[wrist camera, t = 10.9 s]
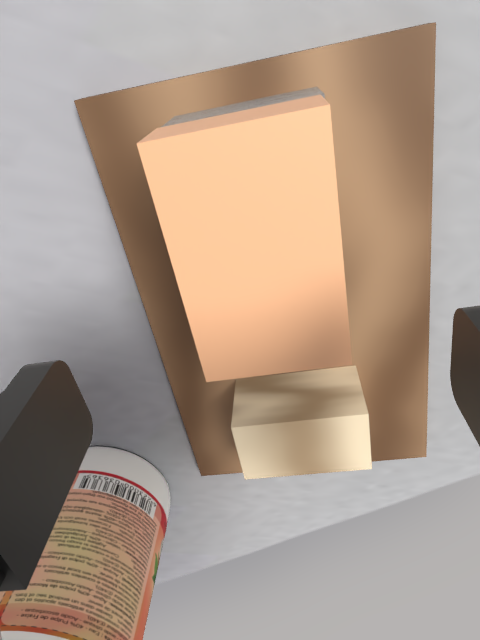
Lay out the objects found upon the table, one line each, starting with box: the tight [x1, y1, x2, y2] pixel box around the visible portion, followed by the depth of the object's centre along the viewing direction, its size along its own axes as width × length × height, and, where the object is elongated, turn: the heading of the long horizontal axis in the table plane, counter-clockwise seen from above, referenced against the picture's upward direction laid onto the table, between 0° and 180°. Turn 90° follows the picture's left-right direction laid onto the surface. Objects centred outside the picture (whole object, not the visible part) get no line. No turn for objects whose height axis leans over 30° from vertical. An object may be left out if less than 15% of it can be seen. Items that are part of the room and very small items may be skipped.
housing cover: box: [137, 94, 353, 382], centre depth 15 cm, size 8×5×2 cm, turn 11°
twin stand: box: [74, 23, 436, 479], centre depth 23 cm, size 15×24×5 cm, turn 11°
